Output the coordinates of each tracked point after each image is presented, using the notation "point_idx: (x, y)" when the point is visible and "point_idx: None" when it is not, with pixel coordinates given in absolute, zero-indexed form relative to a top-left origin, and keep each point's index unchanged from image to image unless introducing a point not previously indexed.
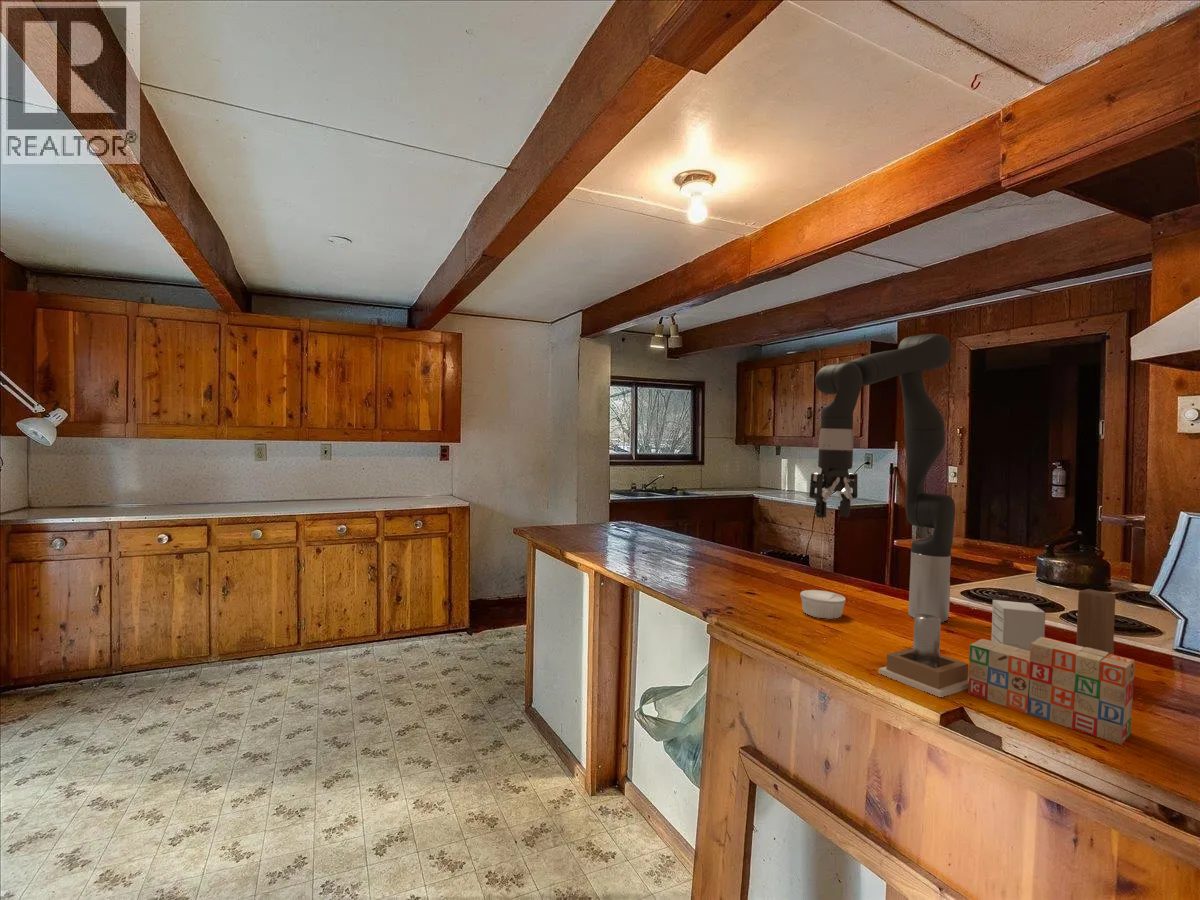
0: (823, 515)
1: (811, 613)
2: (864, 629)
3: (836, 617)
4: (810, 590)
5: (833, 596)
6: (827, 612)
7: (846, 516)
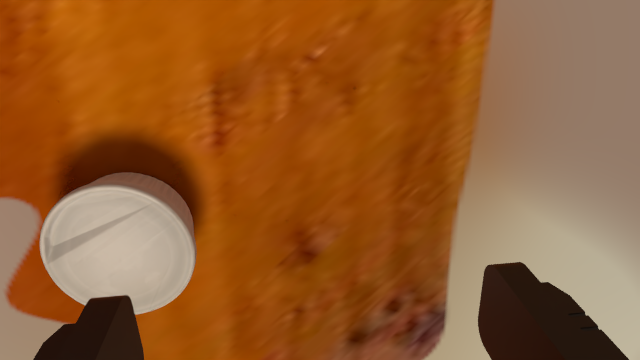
0: (528, 274)
1: (191, 217)
2: (113, 64)
3: (127, 172)
4: None
5: (77, 241)
6: (160, 185)
7: (129, 300)
